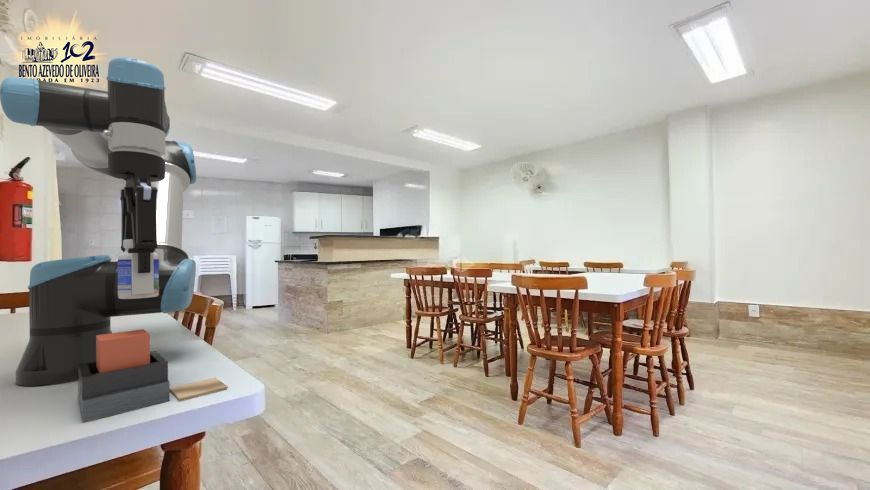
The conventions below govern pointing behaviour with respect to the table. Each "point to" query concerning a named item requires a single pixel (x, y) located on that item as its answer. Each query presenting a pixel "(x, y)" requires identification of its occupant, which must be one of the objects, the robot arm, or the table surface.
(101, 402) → the grey square tray
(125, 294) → the pill bottle
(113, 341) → the orange block
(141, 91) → the robot arm
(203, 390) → the coaster
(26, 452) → the table surface
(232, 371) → the table surface
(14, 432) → the table surface
